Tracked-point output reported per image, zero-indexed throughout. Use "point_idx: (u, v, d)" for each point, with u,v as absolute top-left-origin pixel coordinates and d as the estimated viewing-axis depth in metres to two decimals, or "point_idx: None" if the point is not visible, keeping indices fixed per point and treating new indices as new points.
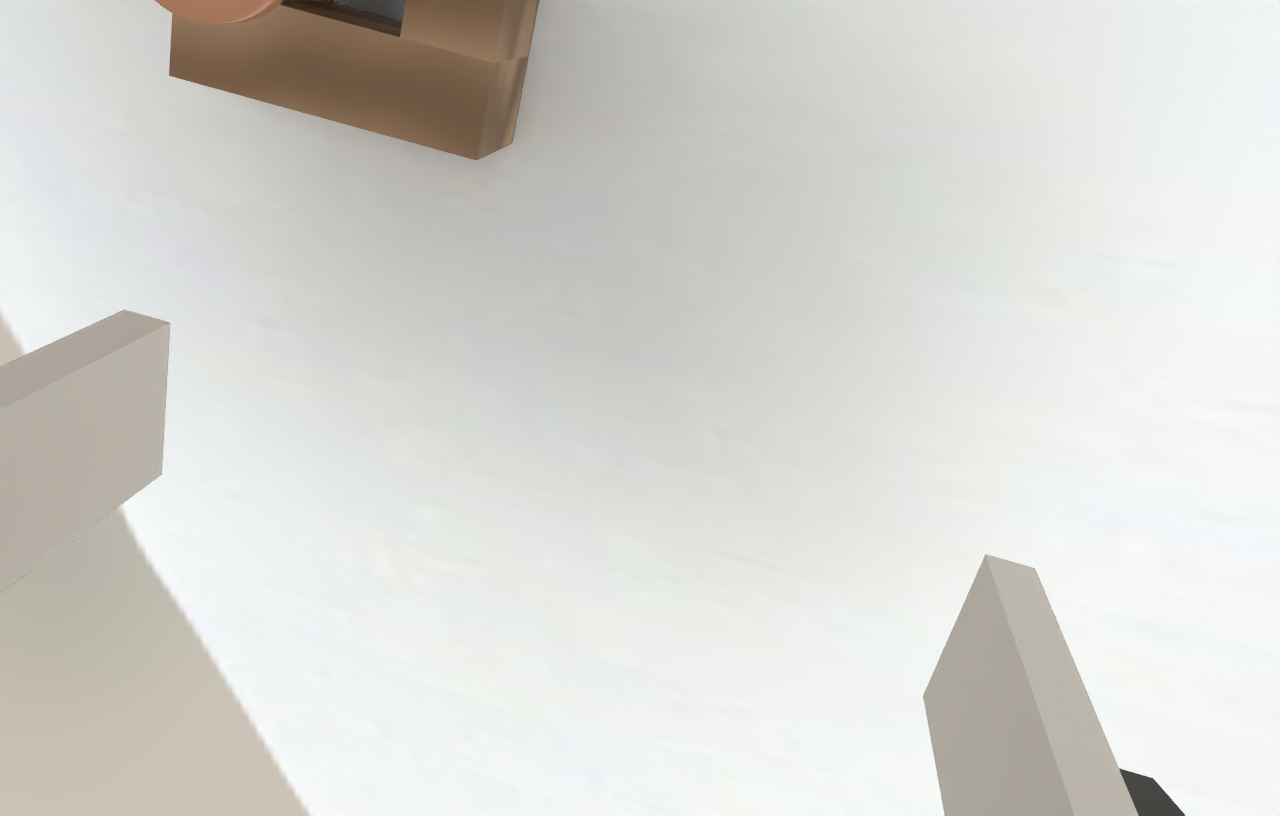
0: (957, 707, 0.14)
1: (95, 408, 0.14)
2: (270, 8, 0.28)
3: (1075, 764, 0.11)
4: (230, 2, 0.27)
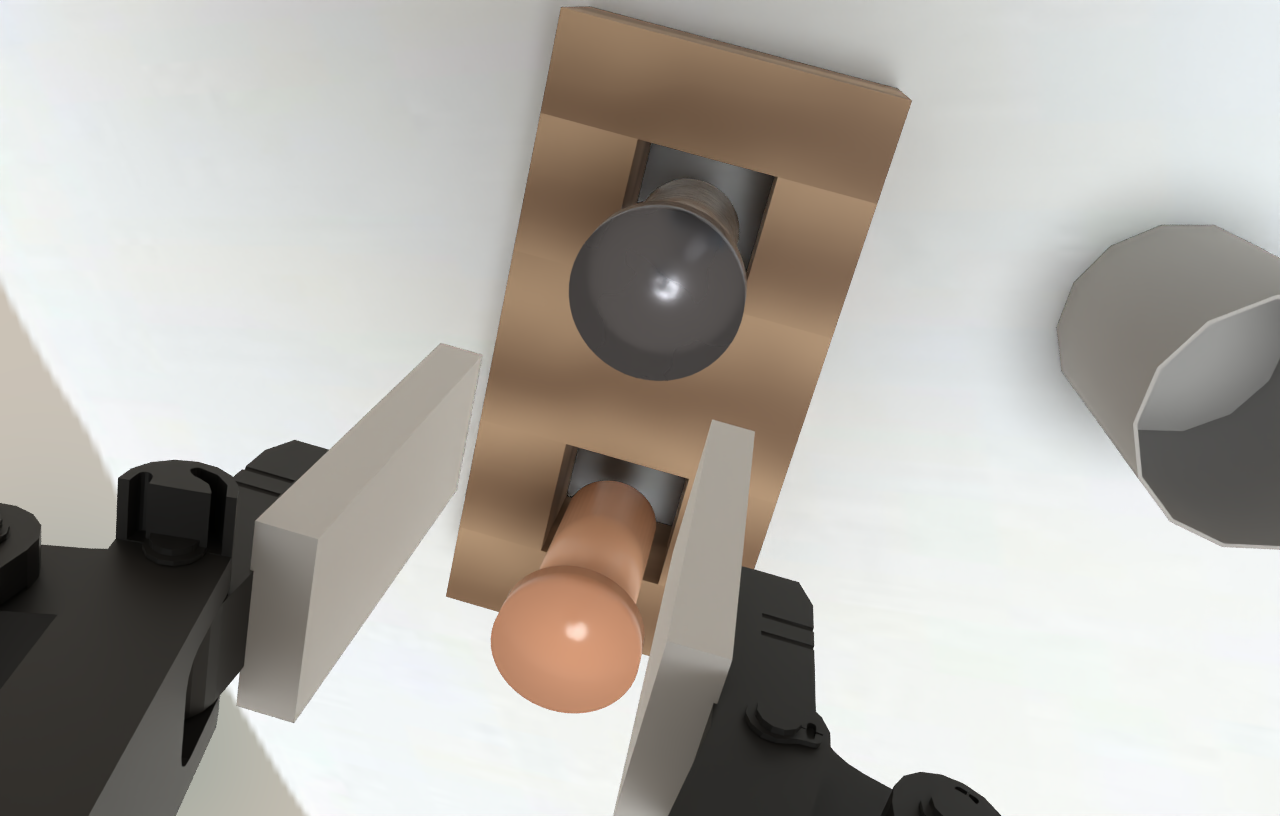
0: (677, 547, 0.17)
1: (442, 433, 0.16)
2: None
3: (702, 553, 0.13)
4: (584, 700, 0.33)
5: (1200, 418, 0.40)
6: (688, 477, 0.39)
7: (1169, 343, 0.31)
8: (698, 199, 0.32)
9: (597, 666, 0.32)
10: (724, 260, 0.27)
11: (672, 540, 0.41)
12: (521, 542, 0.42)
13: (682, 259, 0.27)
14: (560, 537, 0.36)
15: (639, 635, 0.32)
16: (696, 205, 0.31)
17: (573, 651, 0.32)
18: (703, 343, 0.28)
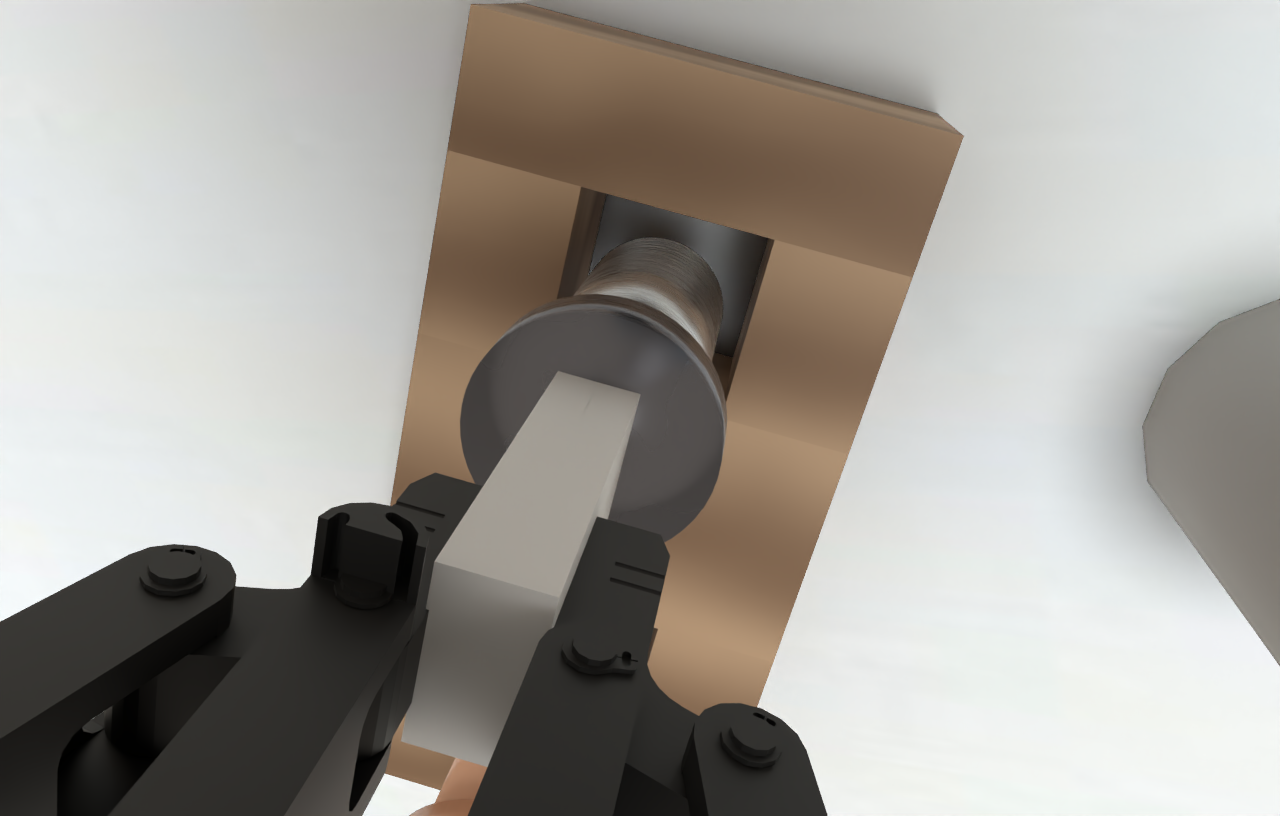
0: None
1: None
2: None
3: (554, 502, 0.13)
4: None
5: None
6: (657, 626, 0.30)
7: None
8: (662, 275, 0.23)
9: None
10: (691, 390, 0.18)
11: None
12: None
13: (627, 387, 0.18)
14: None
15: None
16: (658, 287, 0.22)
17: None
18: (661, 507, 0.19)
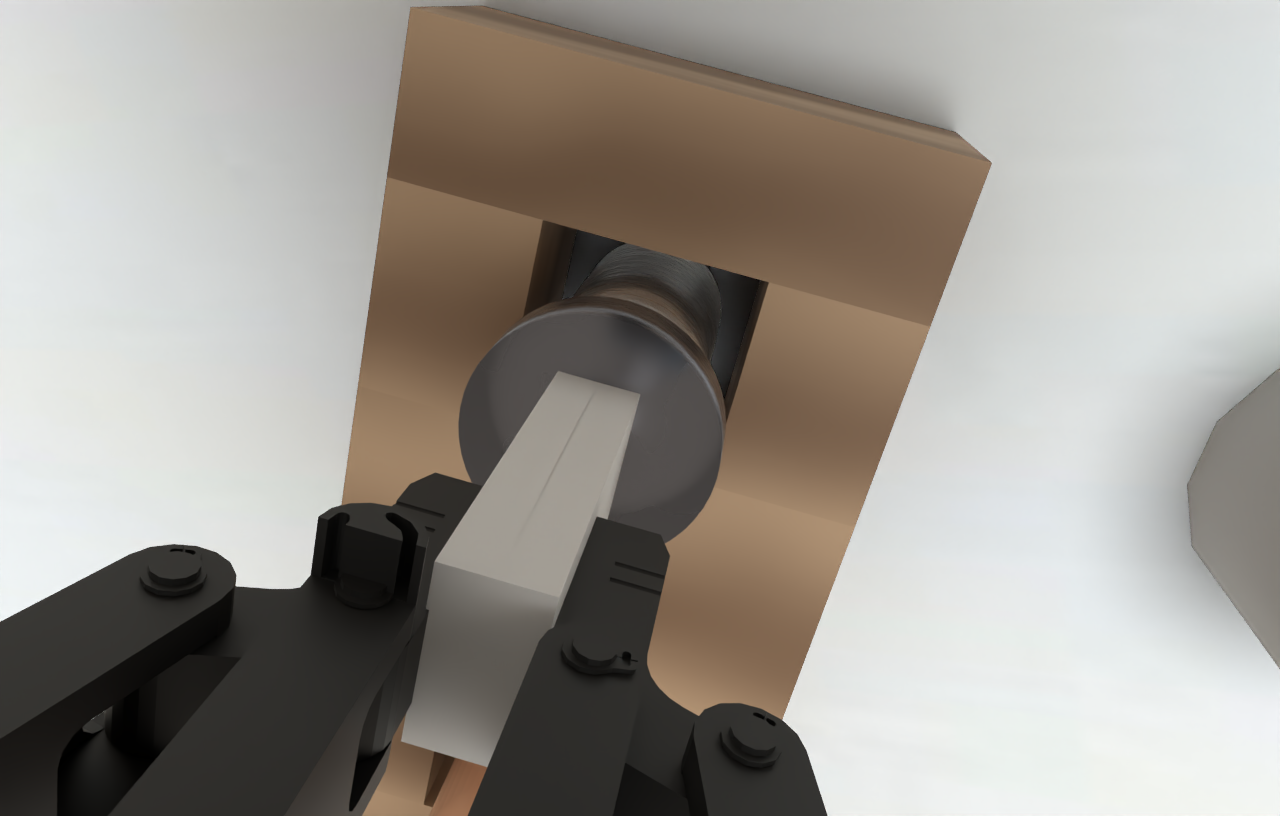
0: None
1: None
2: None
3: (554, 502, 0.13)
4: None
5: None
6: None
7: None
8: (661, 277, 0.23)
9: None
10: (689, 392, 0.18)
11: None
12: (394, 792, 0.28)
13: None
14: None
15: None
16: (656, 289, 0.22)
17: None
18: (660, 510, 0.18)
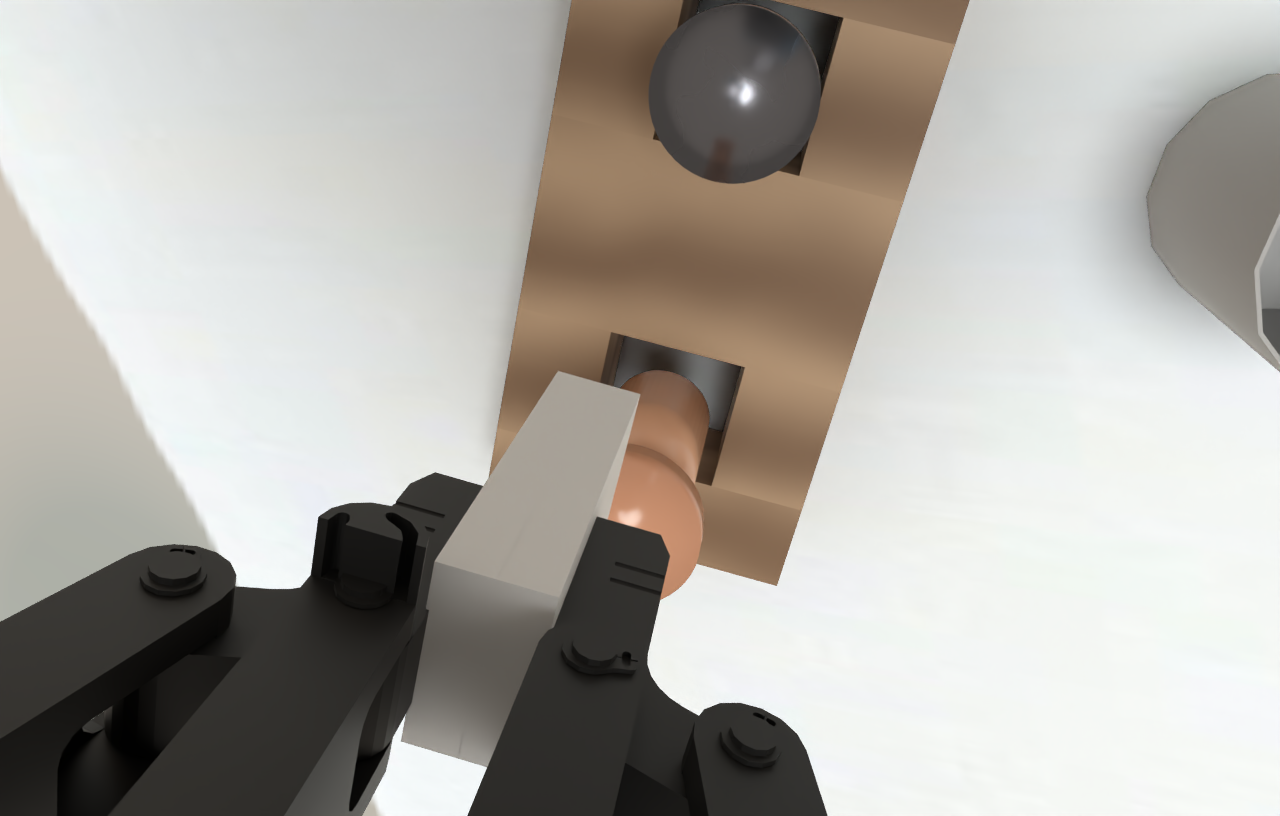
0: None
1: None
2: None
3: (554, 502, 0.13)
4: None
5: None
6: (744, 365, 0.36)
7: None
8: None
9: None
10: (801, 55, 0.28)
11: (727, 436, 0.38)
12: None
13: (759, 56, 0.28)
14: None
15: (700, 517, 0.29)
16: None
17: None
18: (779, 142, 0.29)
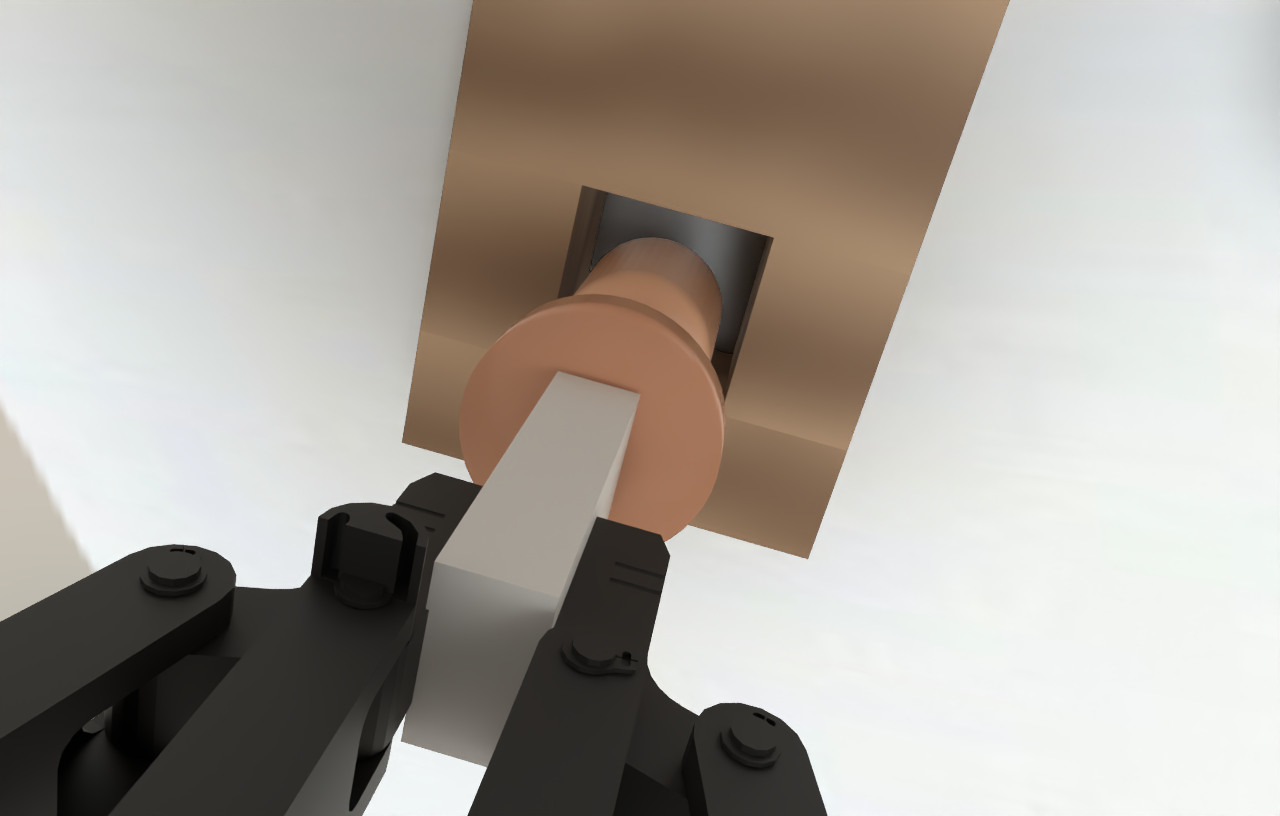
0: None
1: None
2: None
3: (554, 502, 0.13)
4: None
5: None
6: (773, 235, 0.25)
7: None
8: None
9: (646, 469, 0.18)
10: None
11: (744, 342, 0.26)
12: None
13: None
14: (577, 293, 0.22)
15: (720, 412, 0.18)
16: None
17: None
18: None
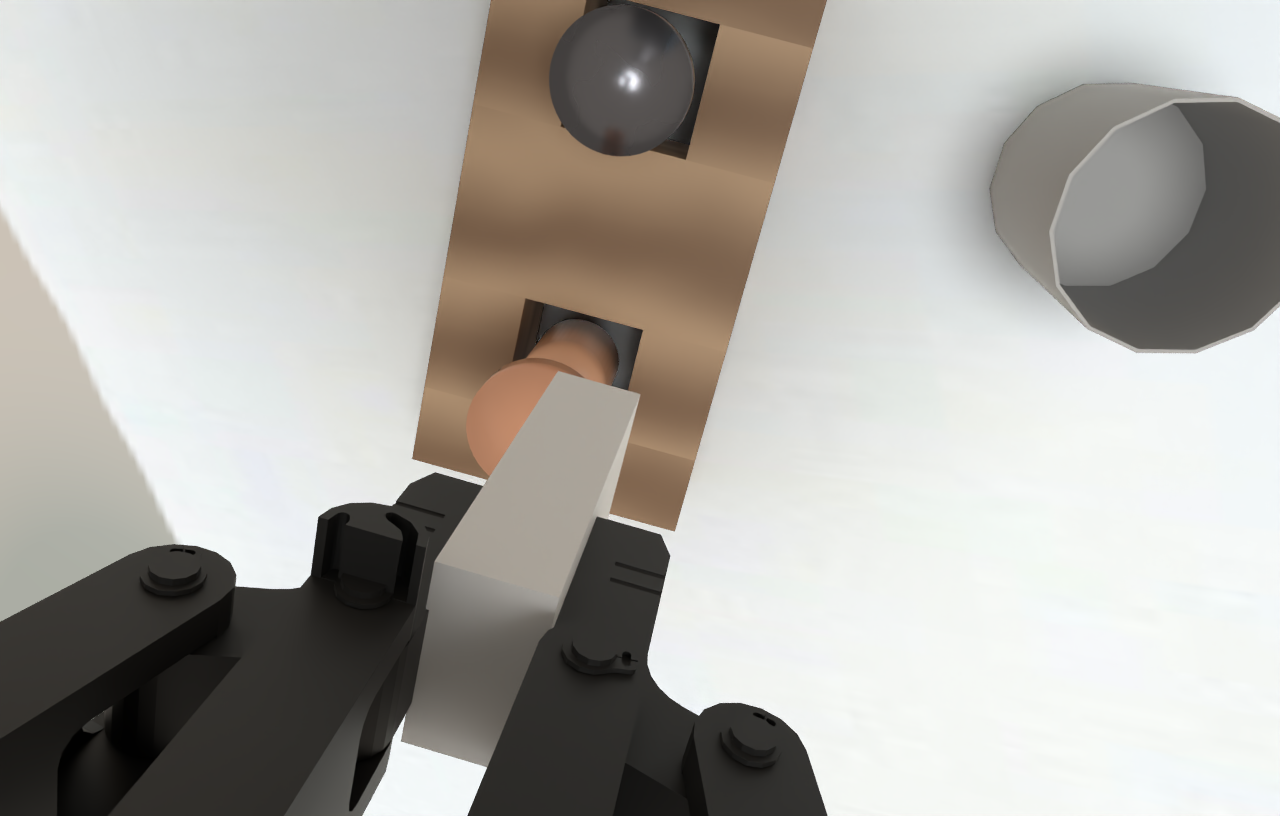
0: None
1: None
2: None
3: (555, 502, 0.13)
4: None
5: (1126, 272, 0.42)
6: (642, 328, 0.41)
7: (1080, 154, 0.33)
8: None
9: None
10: (675, 47, 0.33)
11: None
12: None
13: (640, 48, 0.33)
14: (530, 354, 0.40)
15: None
16: None
17: None
18: (659, 121, 0.34)
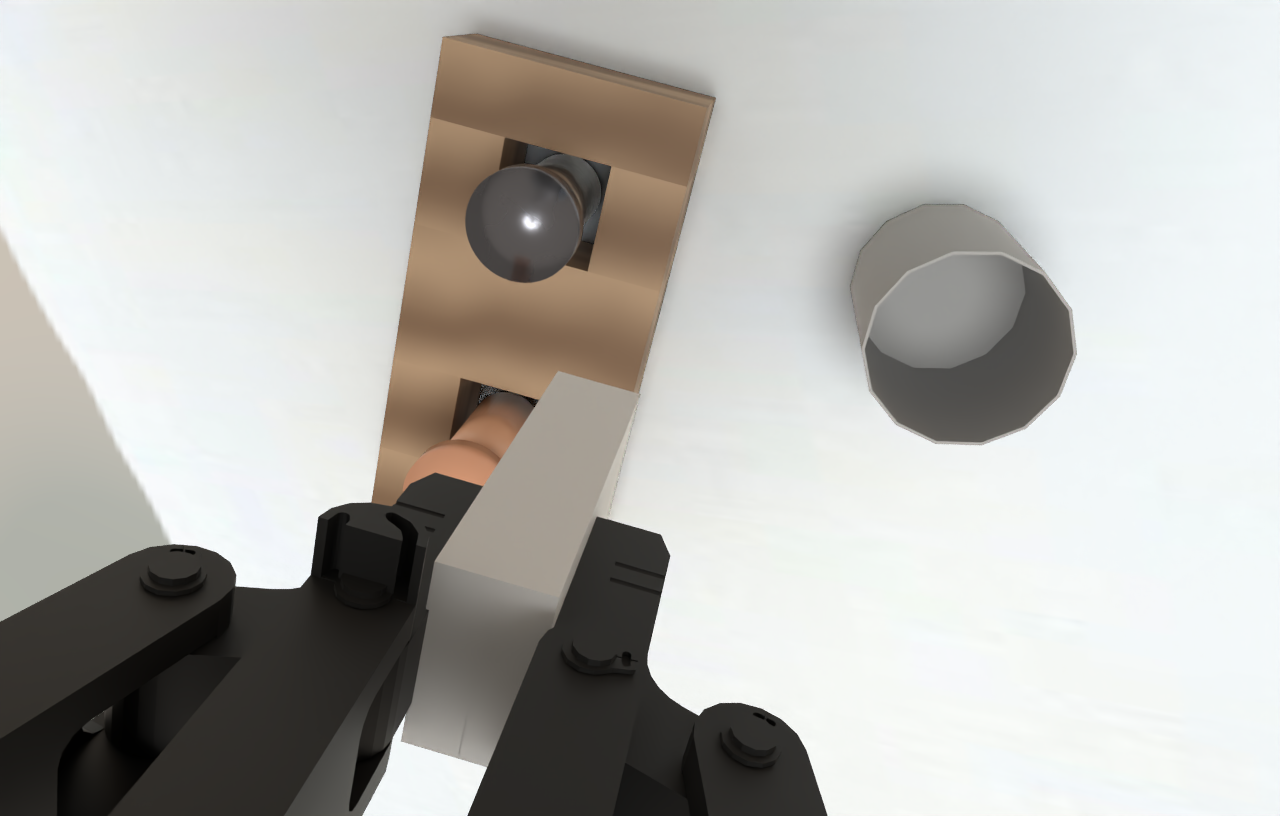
0: None
1: None
2: None
3: (554, 502, 0.13)
4: None
5: (963, 358, 0.51)
6: None
7: (885, 289, 0.41)
8: (562, 166, 0.46)
9: None
10: (563, 201, 0.42)
11: None
12: None
13: (536, 201, 0.42)
14: (461, 428, 0.48)
15: None
16: (558, 169, 0.46)
17: None
18: (553, 257, 0.42)
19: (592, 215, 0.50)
